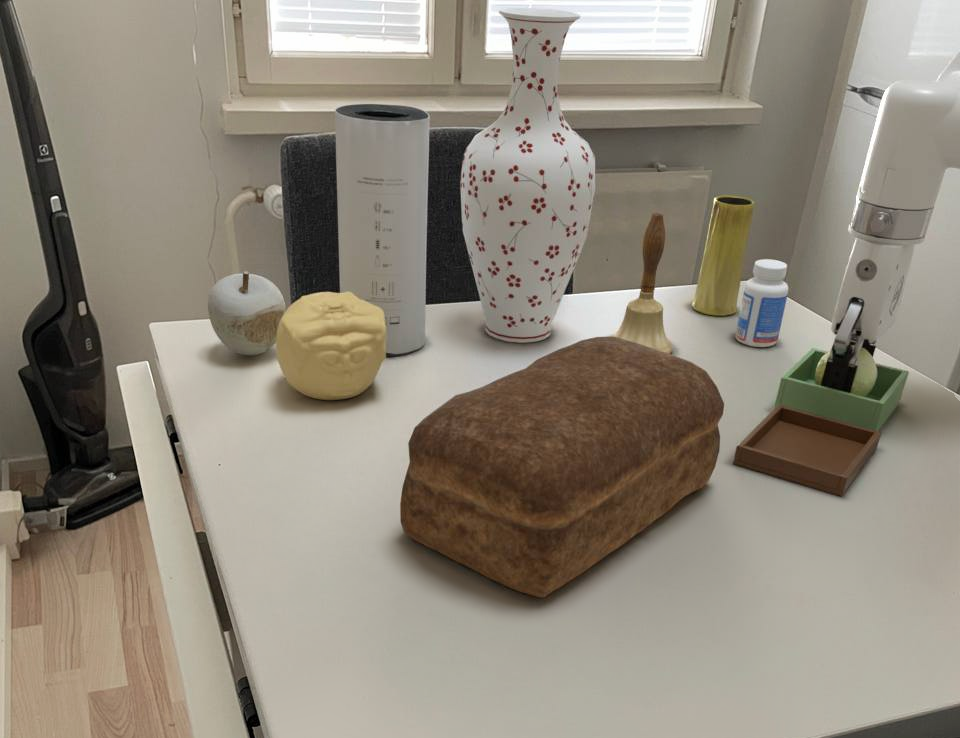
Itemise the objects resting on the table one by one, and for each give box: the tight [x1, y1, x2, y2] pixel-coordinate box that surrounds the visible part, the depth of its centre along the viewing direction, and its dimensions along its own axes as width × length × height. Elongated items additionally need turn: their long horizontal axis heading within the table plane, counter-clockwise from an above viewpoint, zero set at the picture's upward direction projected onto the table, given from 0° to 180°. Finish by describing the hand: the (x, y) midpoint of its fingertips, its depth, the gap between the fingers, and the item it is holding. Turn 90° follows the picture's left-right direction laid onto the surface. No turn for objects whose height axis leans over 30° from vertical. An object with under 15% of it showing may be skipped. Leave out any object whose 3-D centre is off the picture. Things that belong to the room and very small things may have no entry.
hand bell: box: [611, 211, 674, 354], centre depth 120 cm, size 8×8×16 cm
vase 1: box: [459, 7, 596, 344], centre depth 117 cm, size 16×16×35 cm
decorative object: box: [207, 270, 286, 356], centre depth 115 cm, size 9×9×10 cm
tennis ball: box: [815, 345, 877, 397], centre depth 110 cm, size 6×7×7 cm
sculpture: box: [275, 291, 387, 401], centre depth 107 cm, size 11×12×11 cm
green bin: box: [773, 347, 910, 432], centre depth 112 cm, size 11×11×4 cm
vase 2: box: [691, 195, 755, 317], centre depth 134 cm, size 6×6×14 cm
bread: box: [399, 335, 725, 599], centre depth 87 cm, size 17×30×13 cm, turn 140°
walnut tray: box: [732, 405, 882, 497], centre depth 102 cm, size 11×13×2 cm
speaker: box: [334, 103, 431, 357], centre depth 115 cm, size 11×10×26 cm
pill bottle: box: [735, 258, 789, 348], centre depth 126 cm, size 6×5×10 cm
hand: (842, 385), depth 111 cm, fingers closed on tennis ball, 6 cm apart
